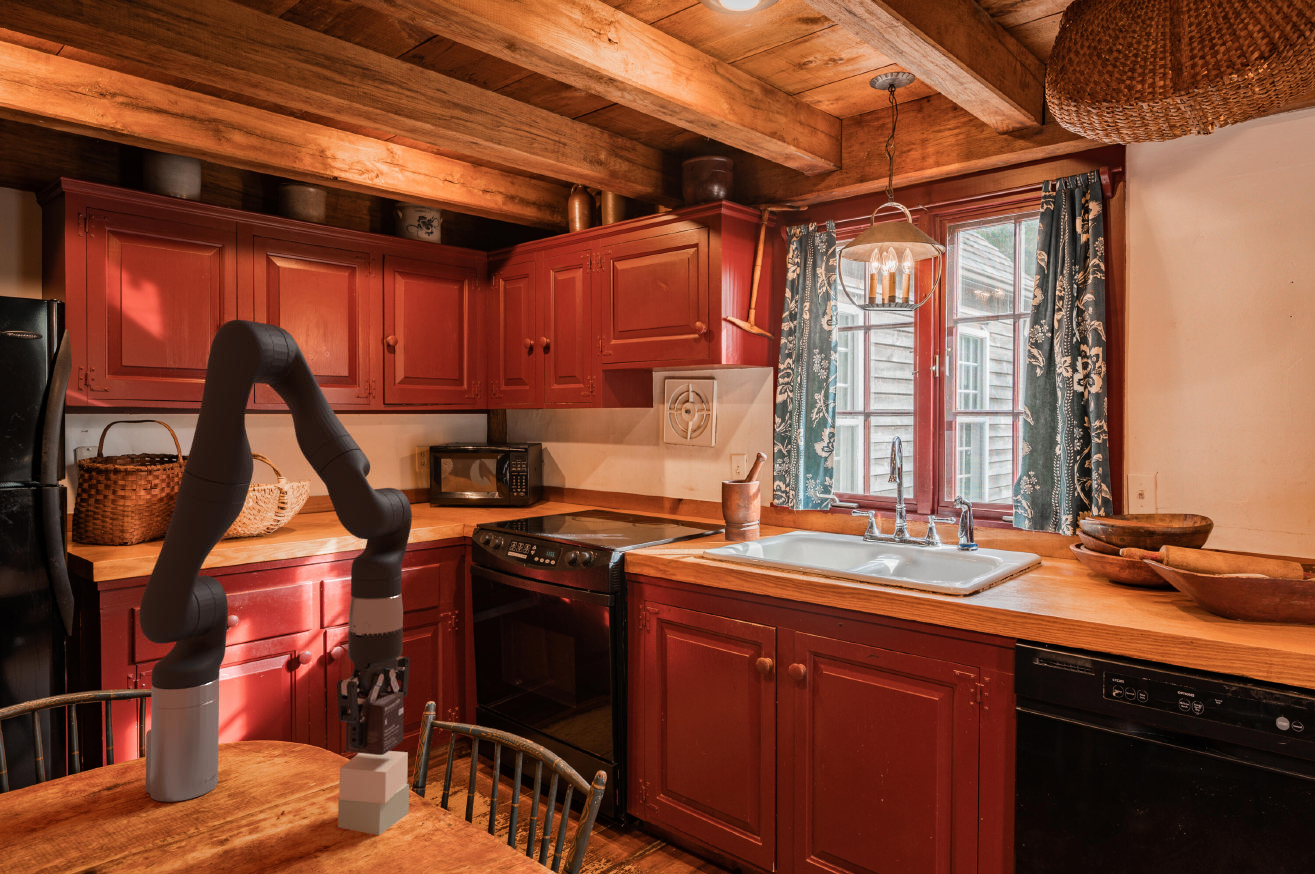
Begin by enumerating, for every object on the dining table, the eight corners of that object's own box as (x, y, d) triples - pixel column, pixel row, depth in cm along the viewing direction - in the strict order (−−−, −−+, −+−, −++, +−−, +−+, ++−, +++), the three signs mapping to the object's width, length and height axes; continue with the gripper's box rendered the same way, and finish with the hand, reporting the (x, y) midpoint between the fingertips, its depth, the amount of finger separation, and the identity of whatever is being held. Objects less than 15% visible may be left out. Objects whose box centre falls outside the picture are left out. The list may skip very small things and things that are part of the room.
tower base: (338, 827, 115) (338, 796, 115) (369, 806, 122) (369, 776, 122) (379, 835, 113) (379, 804, 113) (408, 813, 120) (409, 783, 120)
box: (382, 756, 113) (383, 705, 113) (344, 752, 115) (344, 701, 114) (404, 740, 119) (405, 691, 119) (367, 736, 121) (368, 688, 120)
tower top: (339, 799, 114) (339, 768, 114) (363, 778, 121) (364, 748, 121) (385, 803, 113) (385, 771, 113) (407, 781, 120) (407, 752, 120)
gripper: (384, 612, 125) (383, 718, 125) (320, 634, 111) (318, 753, 111) (426, 616, 123) (424, 724, 123) (365, 639, 109) (364, 761, 109)
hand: (374, 737), depth 117 cm, fingers closed on box, 6 cm apart
